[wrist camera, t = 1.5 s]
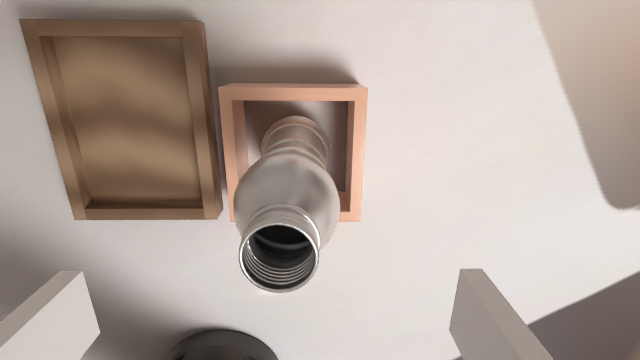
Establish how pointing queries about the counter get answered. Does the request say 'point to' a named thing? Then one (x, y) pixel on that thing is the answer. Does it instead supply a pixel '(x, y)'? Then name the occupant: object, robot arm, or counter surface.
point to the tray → (129, 116)
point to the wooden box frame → (238, 92)
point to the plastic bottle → (286, 206)
